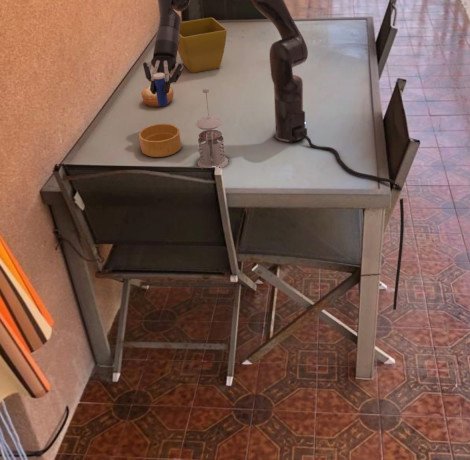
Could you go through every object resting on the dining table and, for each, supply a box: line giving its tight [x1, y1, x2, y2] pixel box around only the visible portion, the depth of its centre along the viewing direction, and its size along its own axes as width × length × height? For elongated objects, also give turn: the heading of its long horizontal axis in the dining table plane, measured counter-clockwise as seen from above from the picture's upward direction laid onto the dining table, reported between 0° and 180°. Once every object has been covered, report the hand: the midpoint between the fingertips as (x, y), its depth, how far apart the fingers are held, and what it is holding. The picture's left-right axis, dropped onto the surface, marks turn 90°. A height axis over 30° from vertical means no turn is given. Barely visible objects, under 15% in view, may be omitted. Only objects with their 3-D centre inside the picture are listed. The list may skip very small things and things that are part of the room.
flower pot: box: [177, 17, 228, 74], centre depth 274 cm, size 19×19×17 cm
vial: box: [152, 73, 169, 107], centre depth 212 cm, size 4×4×10 cm
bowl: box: [138, 123, 182, 158], centre depth 216 cm, size 13×13×6 cm
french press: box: [195, 87, 229, 169], centre depth 201 cm, size 10×12×25 cm
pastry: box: [140, 85, 174, 108], centre depth 247 cm, size 12×12×9 cm
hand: (159, 93), depth 211 cm, fingers closed on vial, 3 cm apart
